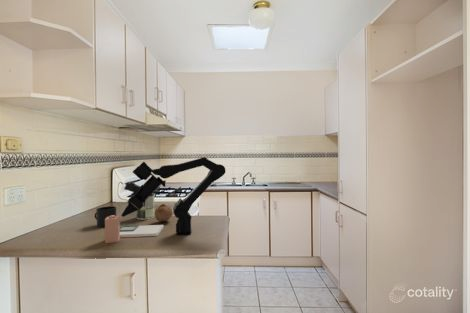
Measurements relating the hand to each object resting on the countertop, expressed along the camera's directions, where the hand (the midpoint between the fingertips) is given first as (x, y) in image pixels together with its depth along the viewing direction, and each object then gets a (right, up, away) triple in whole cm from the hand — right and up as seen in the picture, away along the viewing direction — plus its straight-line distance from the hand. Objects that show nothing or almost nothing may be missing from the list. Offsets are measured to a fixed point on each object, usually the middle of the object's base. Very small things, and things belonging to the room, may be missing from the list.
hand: (123, 213), depth 113 cm
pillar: (-4, -11, -1) cm, 12 cm away
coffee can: (-4, -11, +39) cm, 41 cm away
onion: (+10, -11, +28) cm, 32 cm away
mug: (-21, -12, +25) cm, 34 cm away
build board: (+3, -11, +10) cm, 16 cm away
